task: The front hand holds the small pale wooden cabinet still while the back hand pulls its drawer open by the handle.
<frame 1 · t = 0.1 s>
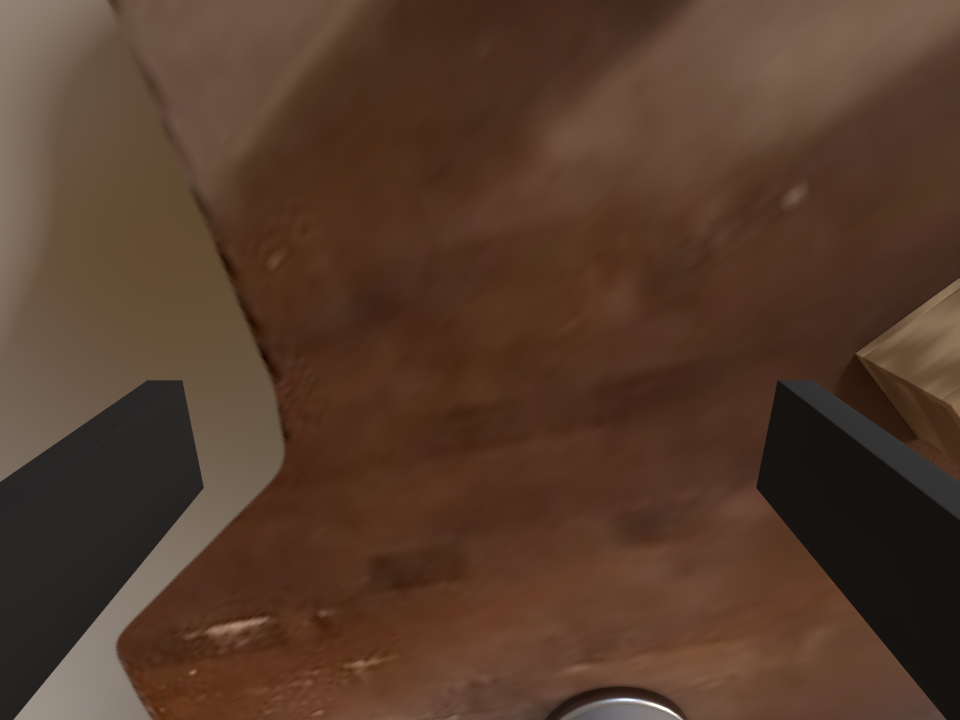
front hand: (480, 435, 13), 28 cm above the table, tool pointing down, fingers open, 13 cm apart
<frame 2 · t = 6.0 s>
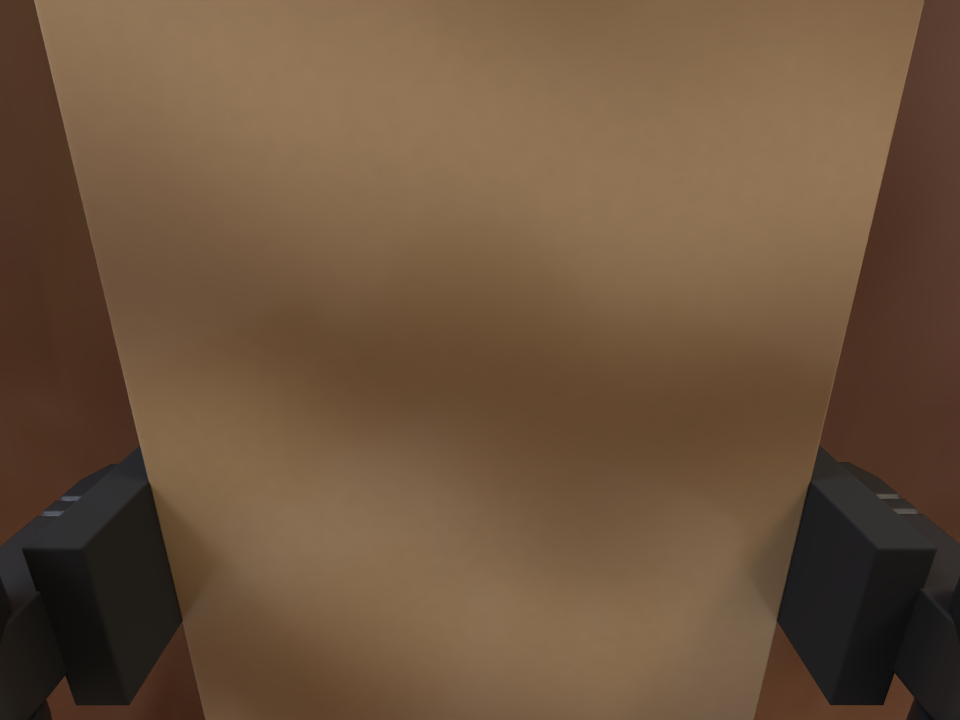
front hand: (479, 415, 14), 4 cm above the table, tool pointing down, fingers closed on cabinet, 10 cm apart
cabinet: (479, 242, 16), on the table, touching front hand
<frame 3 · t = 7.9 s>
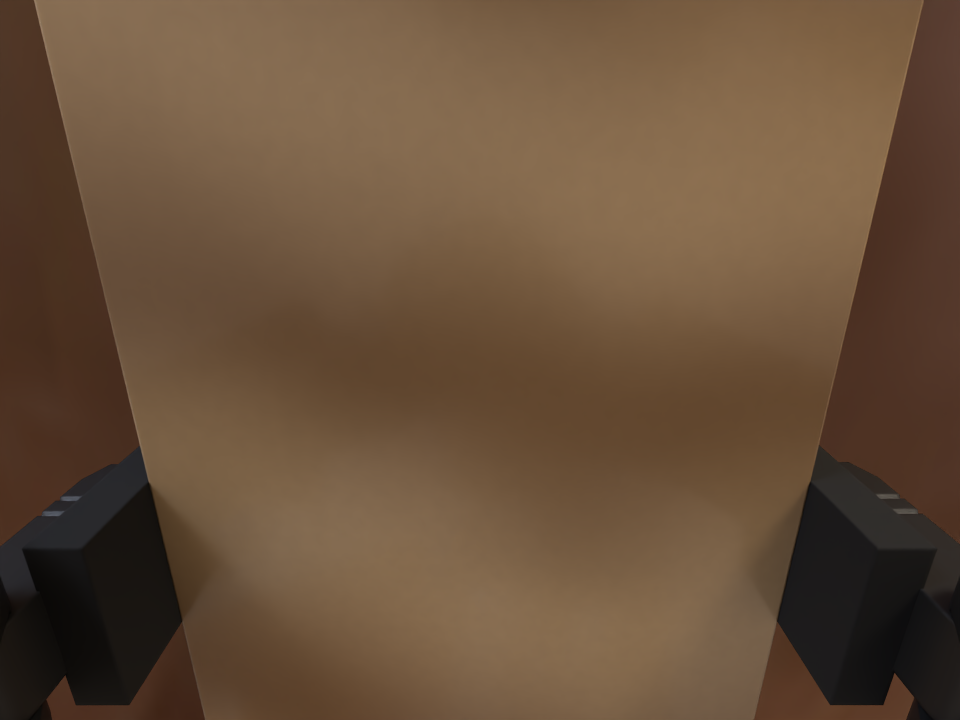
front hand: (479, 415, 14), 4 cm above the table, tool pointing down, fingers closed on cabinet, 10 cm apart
cabinet: (479, 242, 16), on the table, touching front hand
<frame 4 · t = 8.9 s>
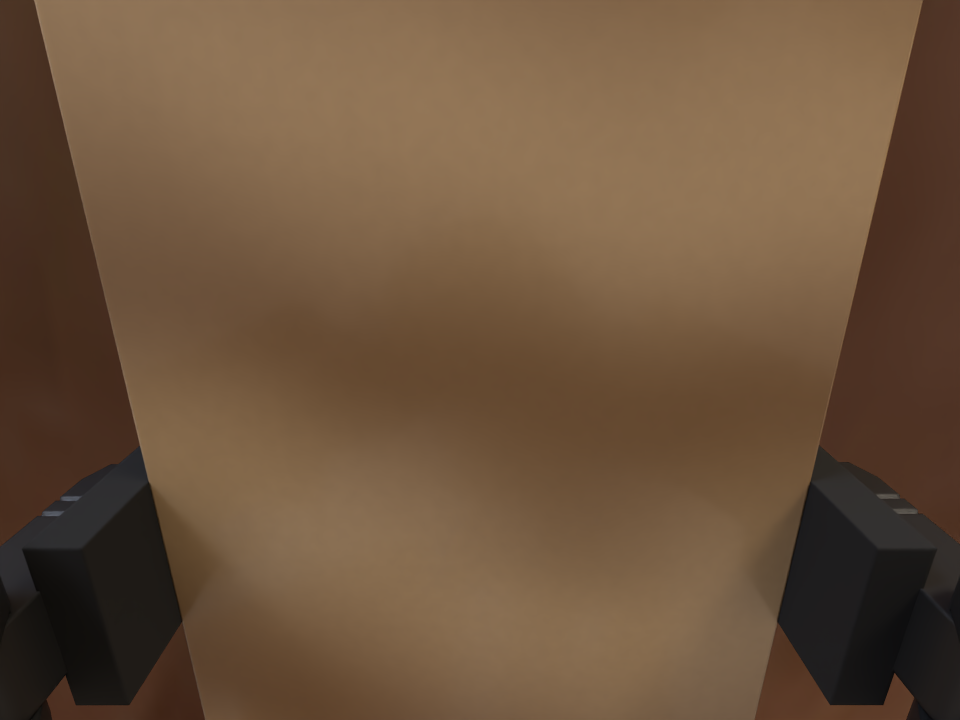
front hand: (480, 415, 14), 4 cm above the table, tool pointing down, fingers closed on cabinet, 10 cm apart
cabinet: (479, 242, 16), on the table, touching front hand
when the front hand's fingers open (4 cm above the table, at t = 10.9 s): cabinet stays where it is, on the table.
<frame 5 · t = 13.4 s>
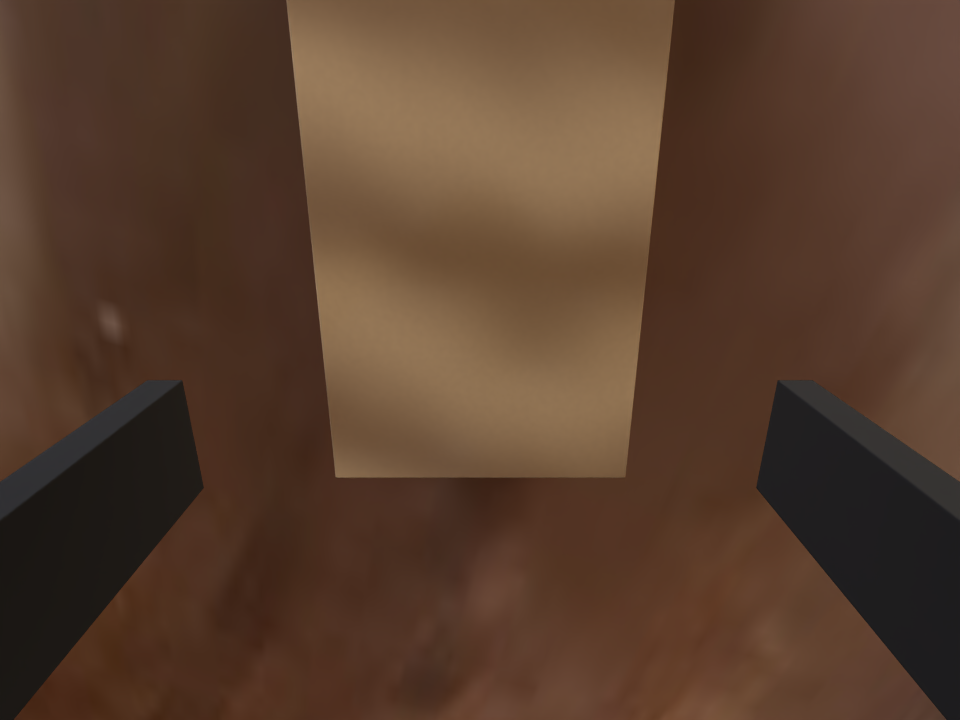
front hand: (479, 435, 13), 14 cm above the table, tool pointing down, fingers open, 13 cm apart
cabinet: (480, 208, 25), on the table
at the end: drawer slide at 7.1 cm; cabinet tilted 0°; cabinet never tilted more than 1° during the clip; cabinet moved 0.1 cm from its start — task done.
